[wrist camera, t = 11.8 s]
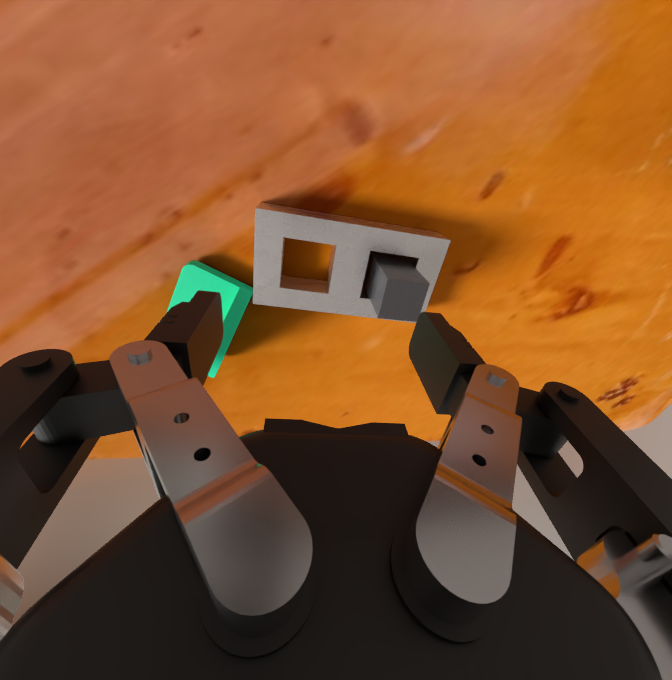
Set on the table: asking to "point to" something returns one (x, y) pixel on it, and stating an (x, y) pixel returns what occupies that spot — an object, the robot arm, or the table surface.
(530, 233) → the table surface
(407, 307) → the peg
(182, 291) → the camera mount
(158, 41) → the table surface
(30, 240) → the table surface
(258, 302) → the rail
